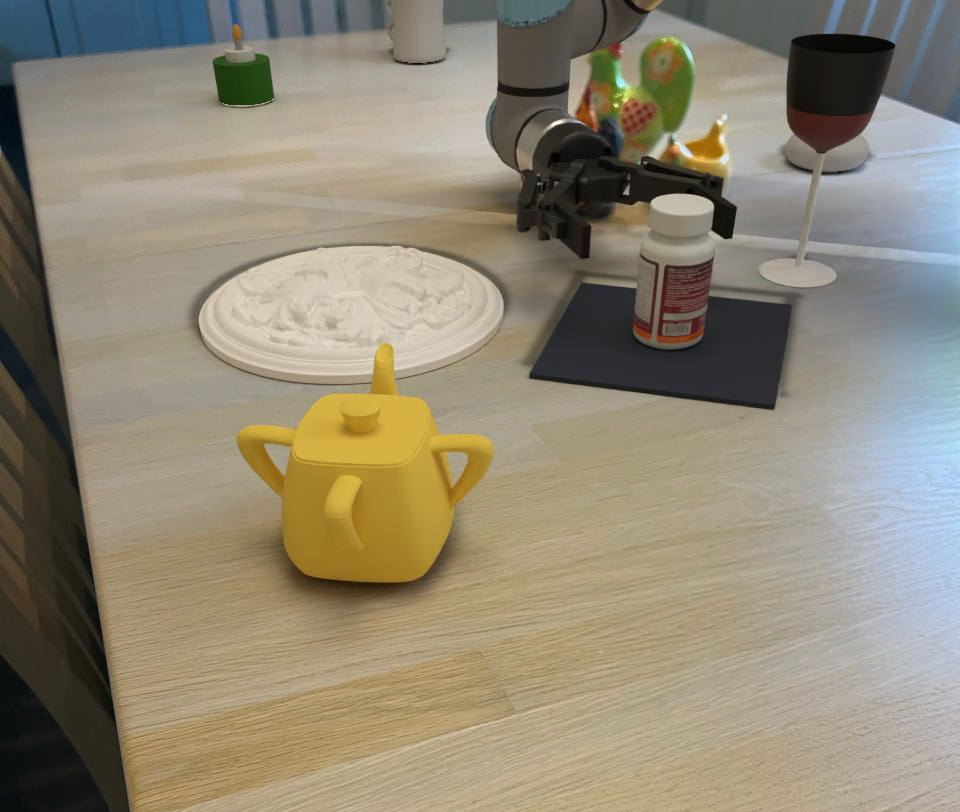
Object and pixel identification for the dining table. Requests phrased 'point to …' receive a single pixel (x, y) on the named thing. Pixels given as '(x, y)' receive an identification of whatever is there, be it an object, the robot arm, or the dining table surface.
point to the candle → (243, 74)
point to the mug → (417, 30)
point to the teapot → (366, 482)
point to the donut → (828, 154)
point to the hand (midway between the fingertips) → (660, 233)
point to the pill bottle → (674, 272)
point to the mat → (681, 372)
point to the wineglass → (828, 120)
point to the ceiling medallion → (350, 314)
